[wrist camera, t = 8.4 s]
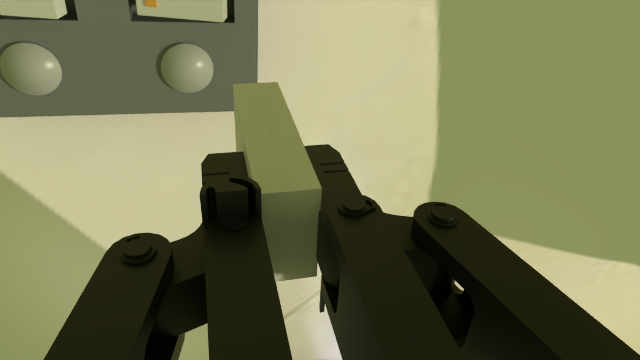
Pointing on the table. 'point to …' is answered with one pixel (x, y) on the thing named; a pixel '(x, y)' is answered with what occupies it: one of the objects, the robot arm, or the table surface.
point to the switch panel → (124, 61)
